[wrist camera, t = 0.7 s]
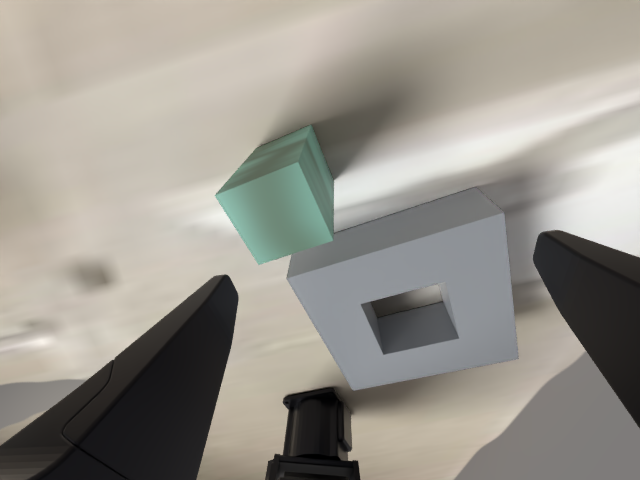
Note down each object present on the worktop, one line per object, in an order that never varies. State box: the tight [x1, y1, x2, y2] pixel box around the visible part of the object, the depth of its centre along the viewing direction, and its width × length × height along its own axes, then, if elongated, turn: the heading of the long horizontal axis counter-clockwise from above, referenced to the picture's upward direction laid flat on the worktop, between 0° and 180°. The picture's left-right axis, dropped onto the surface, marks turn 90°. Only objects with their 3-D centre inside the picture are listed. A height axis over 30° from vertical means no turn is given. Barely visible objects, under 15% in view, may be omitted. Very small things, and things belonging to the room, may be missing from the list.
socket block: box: [286, 187, 519, 391], centre depth 24 cm, size 14×14×4 cm
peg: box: [215, 125, 334, 265], centre depth 17 cm, size 4×4×8 cm
